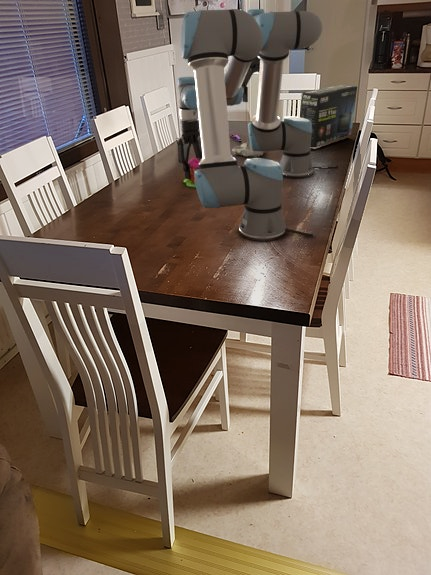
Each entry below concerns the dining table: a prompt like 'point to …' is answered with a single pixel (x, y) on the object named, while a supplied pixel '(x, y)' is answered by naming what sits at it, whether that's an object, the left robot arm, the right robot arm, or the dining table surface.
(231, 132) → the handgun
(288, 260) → the dining table surface
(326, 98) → the router box
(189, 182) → the toy figurine
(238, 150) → the fossil
